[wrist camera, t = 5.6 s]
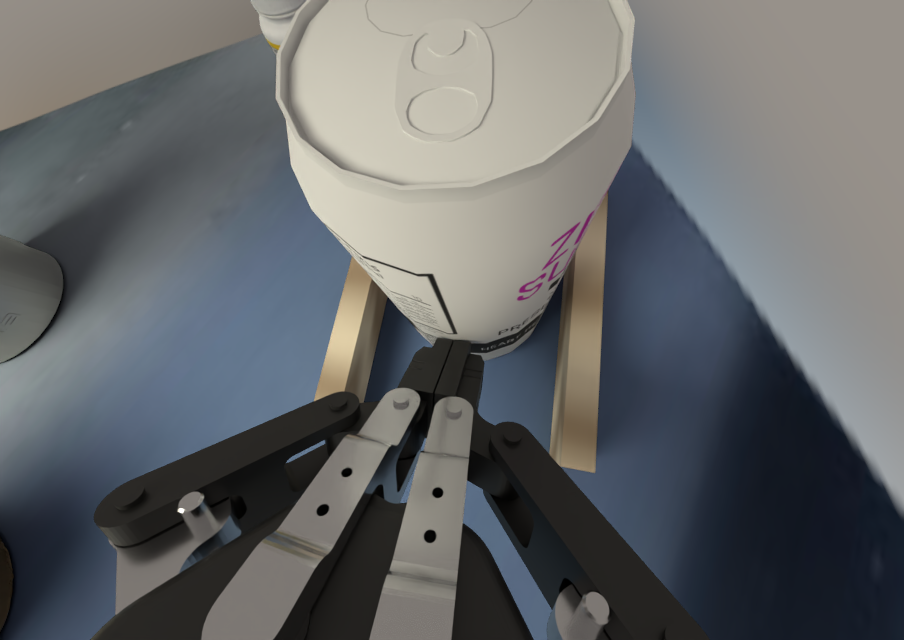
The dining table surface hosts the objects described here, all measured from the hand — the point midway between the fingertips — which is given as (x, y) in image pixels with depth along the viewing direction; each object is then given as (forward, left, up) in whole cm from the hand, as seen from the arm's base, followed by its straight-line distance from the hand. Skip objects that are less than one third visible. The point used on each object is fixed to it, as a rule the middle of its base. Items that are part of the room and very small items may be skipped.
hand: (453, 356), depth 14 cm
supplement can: (-3, +4, -5) cm, 7 cm away
